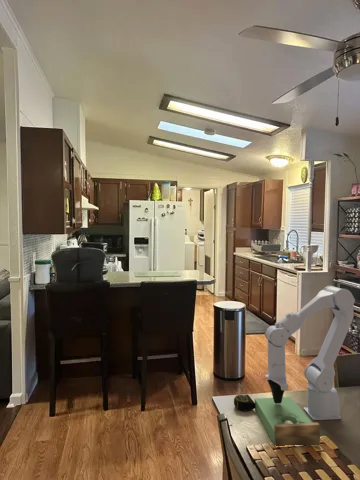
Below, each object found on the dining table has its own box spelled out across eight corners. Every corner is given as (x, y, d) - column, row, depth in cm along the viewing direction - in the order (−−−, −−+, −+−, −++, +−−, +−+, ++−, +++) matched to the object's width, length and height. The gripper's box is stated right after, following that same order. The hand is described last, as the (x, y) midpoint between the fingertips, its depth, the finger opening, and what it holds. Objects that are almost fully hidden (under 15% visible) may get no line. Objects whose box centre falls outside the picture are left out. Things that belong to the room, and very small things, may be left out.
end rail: (318, 443, 98) (317, 422, 98) (320, 445, 97) (319, 424, 97) (274, 445, 97) (274, 424, 97) (276, 447, 96) (275, 426, 96)
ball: (295, 429, 101) (294, 437, 102) (294, 418, 104) (294, 426, 105) (283, 427, 102) (282, 435, 103) (282, 416, 105) (282, 424, 106)
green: (290, 408, 119) (290, 396, 119) (320, 445, 97) (319, 431, 97) (254, 409, 118) (254, 398, 118) (276, 447, 96) (275, 433, 96)
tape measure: (256, 412, 117) (256, 401, 117) (237, 414, 116) (237, 403, 116) (249, 403, 123) (249, 393, 123) (231, 404, 123) (231, 394, 123)
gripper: (258, 355, 121) (259, 393, 120) (272, 370, 106) (273, 413, 106) (278, 354, 121) (278, 392, 121) (293, 370, 106) (294, 412, 106)
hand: (277, 402), depth 113 cm, fingers closed
